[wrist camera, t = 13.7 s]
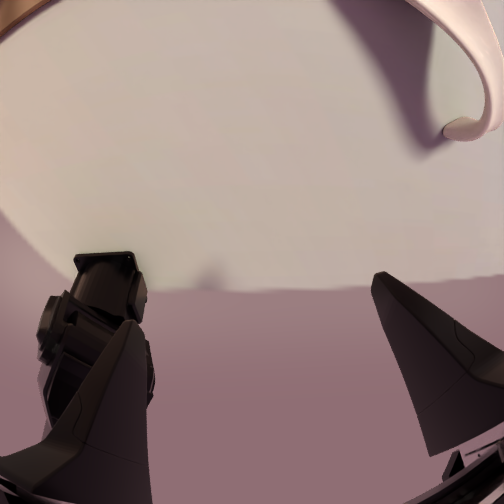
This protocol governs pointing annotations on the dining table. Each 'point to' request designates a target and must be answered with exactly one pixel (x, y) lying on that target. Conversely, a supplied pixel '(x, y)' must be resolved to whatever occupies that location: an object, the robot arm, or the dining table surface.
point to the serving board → (16, 12)
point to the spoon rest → (472, 59)
